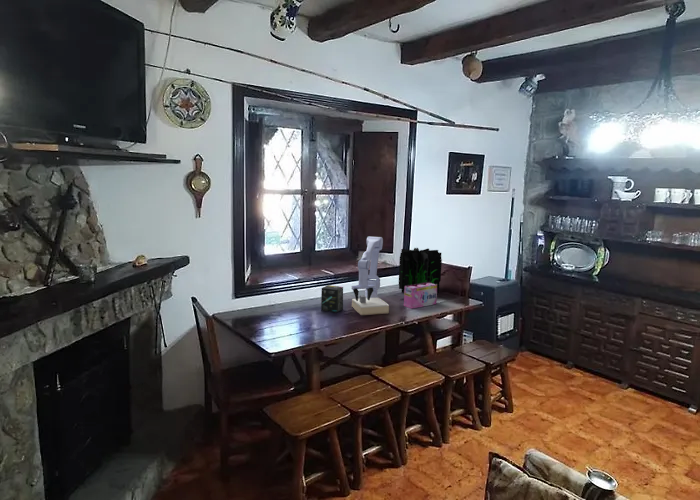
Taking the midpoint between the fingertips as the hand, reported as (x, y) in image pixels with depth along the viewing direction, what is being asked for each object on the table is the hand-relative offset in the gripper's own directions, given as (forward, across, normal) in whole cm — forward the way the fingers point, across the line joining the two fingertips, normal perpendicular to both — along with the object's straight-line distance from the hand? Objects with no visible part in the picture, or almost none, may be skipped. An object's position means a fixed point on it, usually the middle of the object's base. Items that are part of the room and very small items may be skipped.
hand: (362, 300), depth 290 cm
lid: (+2, +5, 0) cm, 5 cm away
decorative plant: (+7, +58, +39) cm, 70 cm away
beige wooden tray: (+7, +5, 0) cm, 8 cm away
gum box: (+7, +42, +4) cm, 43 cm away
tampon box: (+7, -18, +6) cm, 20 cm away
